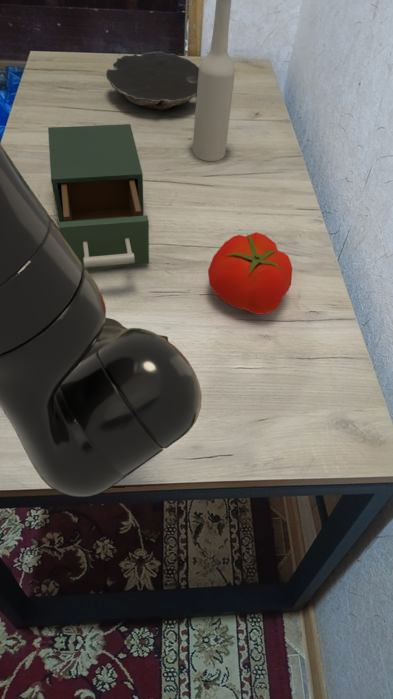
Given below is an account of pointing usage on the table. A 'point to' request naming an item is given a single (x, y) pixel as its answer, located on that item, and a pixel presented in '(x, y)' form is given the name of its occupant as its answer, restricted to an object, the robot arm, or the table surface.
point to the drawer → (105, 223)
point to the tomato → (251, 273)
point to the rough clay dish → (155, 79)
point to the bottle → (214, 91)
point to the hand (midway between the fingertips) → (104, 344)
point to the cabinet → (93, 157)
